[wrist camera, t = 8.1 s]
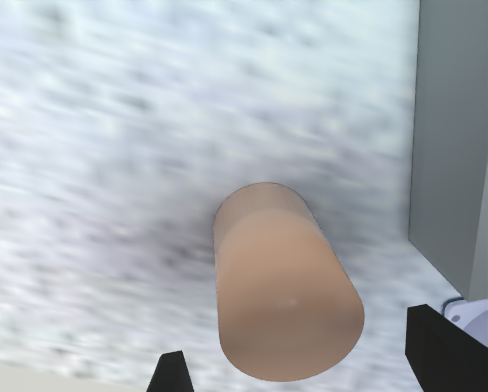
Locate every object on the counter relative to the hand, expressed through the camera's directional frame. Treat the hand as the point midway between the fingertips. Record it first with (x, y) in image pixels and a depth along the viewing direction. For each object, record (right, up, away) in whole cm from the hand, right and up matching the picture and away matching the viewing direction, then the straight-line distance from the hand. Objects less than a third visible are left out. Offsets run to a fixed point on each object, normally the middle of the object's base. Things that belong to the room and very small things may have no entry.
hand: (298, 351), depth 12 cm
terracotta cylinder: (-1, +3, +7) cm, 8 cm away
